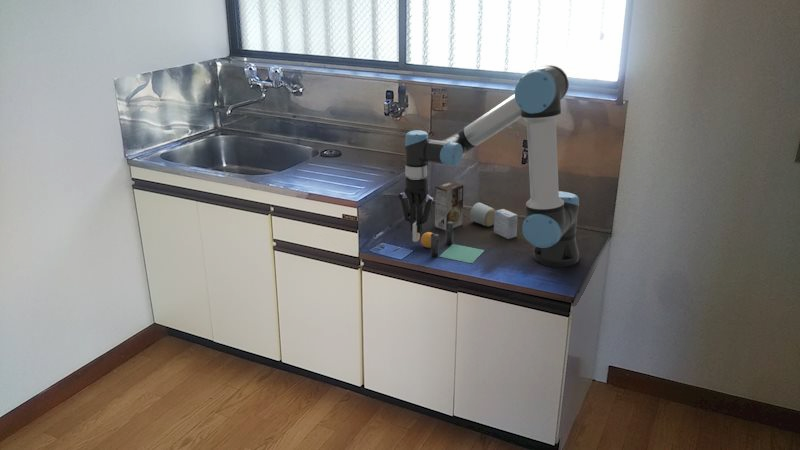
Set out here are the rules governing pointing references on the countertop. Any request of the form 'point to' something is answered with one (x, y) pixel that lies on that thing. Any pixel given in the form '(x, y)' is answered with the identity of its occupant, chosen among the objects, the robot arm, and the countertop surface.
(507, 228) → the medicine box
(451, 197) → the coffee box
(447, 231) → the post
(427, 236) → the ball
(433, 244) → the post
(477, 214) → the white cylinder
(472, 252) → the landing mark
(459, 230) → the countertop surface
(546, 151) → the robot arm
